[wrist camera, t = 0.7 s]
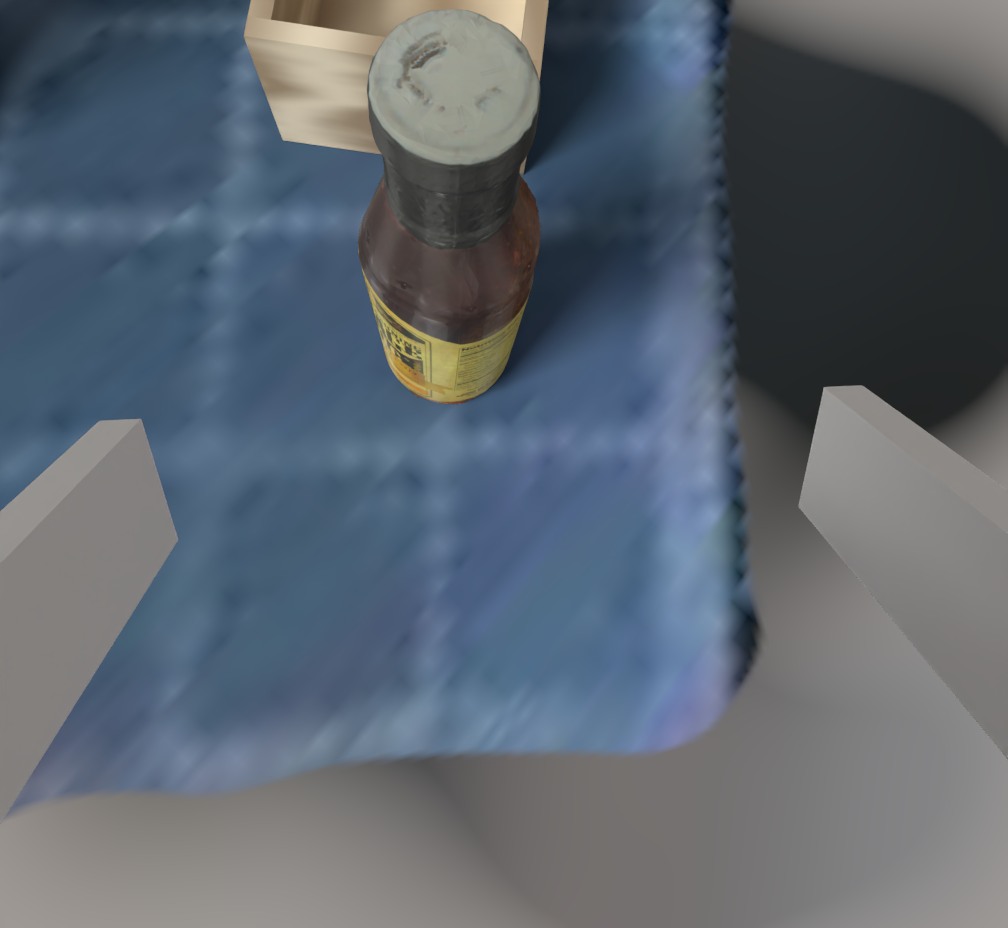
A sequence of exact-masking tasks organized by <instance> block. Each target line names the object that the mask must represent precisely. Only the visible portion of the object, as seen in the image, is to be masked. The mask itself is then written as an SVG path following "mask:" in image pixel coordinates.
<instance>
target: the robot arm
mask: <svg viewBox="0 0 1008 928" xmlns="http://www.w3.org/2000/svg"><path fill="white" fill-rule="evenodd" d="M799 508H800V509H801V510H802V511H803V513H804V514H805V515H806V516H807V517H808V519H809V520H810V521H811V522H812V523H813V525H814V526H815V527H816V528H817V530H818V531H819V532H820V533H821V534H822V535H823V537H824V538H825V539H826V540H827V542H828V543H829V544H830V545H831V546H832V548H833V549H834V550H835V551H836V553H837V554H838V555H839V556H840V557H841V559H842V560H843V561H844V562H845V563H846V565H847V566H848V567H849V568H850V569H851V571H852V572H853V573H854V574H855V575H856V577H857V578H858V579H859V580H860V581H861V583H862V584H863V585H864V586H865V588H866V589H867V590H868V591H869V592H870V594H871V595H872V596H873V597H874V598H875V600H876V601H877V602H878V603H879V605H880V606H881V607H882V608H883V609H884V611H885V612H886V613H887V614H888V615H889V616H890V618H891V619H892V620H893V621H894V623H895V624H896V625H897V626H898V627H899V629H900V630H901V631H902V632H903V633H904V635H905V636H906V637H907V638H908V640H909V641H910V642H911V643H912V644H913V646H914V647H915V648H916V649H917V650H918V652H919V653H920V654H921V655H922V656H923V657H924V659H925V660H926V661H927V662H928V664H929V665H930V666H931V667H932V669H933V670H934V671H935V672H936V673H937V674H938V676H939V677H940V678H941V679H942V680H943V682H944V683H945V684H946V685H947V687H948V688H949V689H950V690H951V691H952V693H953V694H954V695H955V696H956V698H957V699H958V700H959V701H960V702H961V704H962V705H963V706H964V707H965V708H966V710H967V711H968V712H969V713H970V714H971V716H972V717H973V718H974V719H975V720H976V722H977V723H978V724H979V725H980V726H981V728H982V729H983V730H984V731H985V733H986V734H987V735H988V736H989V737H990V739H991V740H992V741H993V742H994V743H995V744H996V746H997V747H998V748H999V749H1000V751H1001V752H1002V753H1003V754H1004V756H1005V757H1006V758H1007V759H1008V490H1007V489H1005V488H1004V487H1003V486H1001V485H1000V484H999V483H997V482H996V481H994V480H993V479H991V478H990V477H989V476H987V475H986V474H985V473H983V472H982V471H980V470H979V469H978V468H976V467H975V466H973V465H972V464H971V463H969V462H968V461H967V460H965V459H964V458H962V457H961V456H960V455H958V454H957V453H955V452H954V451H952V450H951V449H950V448H948V447H947V446H945V445H944V444H943V443H941V442H940V441H939V440H937V439H936V438H935V437H933V436H932V435H930V434H929V433H928V432H926V431H924V430H923V429H922V428H921V427H919V426H918V425H916V424H915V423H914V422H912V421H911V420H909V419H908V418H907V417H905V416H904V415H903V414H901V413H900V412H898V411H897V410H896V409H894V408H893V407H891V406H890V405H889V404H887V403H886V402H884V401H883V400H882V399H880V398H879V397H877V396H876V395H875V394H873V393H872V392H870V391H869V390H868V389H866V388H865V387H864V386H861V385H860V386H839V387H824V390H823V394H822V399H821V404H820V409H819V413H818V417H817V422H816V427H815V432H814V436H813V441H812V445H811V450H810V455H809V459H808V464H807V469H806V473H805V478H804V483H803V487H802V492H801V497H800V501H799ZM177 541H178V538H177V534H176V531H175V528H174V525H173V521H172V518H171V515H170V511H169V508H168V505H167V502H166V498H165V495H164V492H163V489H162V485H161V482H160V479H159V476H158V472H157V469H156V466H155V462H154V459H153V456H152V453H151V449H150V446H149V443H148V440H147V436H146V433H145V430H144V427H143V423H142V420H141V419H128V420H106V421H99V422H98V423H97V424H95V425H94V426H93V427H92V428H91V429H90V430H89V431H88V432H87V433H86V434H85V435H83V436H82V437H81V438H80V439H79V440H78V441H77V442H76V443H75V444H74V445H72V446H71V447H70V448H69V449H68V450H67V451H66V452H65V453H64V454H63V455H62V456H60V457H59V458H58V459H57V460H56V461H55V462H54V463H53V464H52V465H51V466H49V467H48V468H47V469H46V470H45V471H44V472H43V473H42V474H41V475H40V476H39V477H37V478H36V479H35V480H34V481H33V482H32V483H31V484H30V485H29V486H28V487H26V488H25V489H24V490H23V491H22V492H21V493H20V494H19V495H18V496H17V497H16V498H14V499H13V500H12V501H11V502H10V503H9V504H8V505H7V506H6V507H5V508H4V509H2V510H1V511H0V824H1V822H2V820H3V819H4V817H5V816H6V814H7V813H8V811H9V809H10V808H11V806H12V805H13V803H14V801H15V800H16V798H17V797H18V795H19V793H20V792H21V790H22V789H23V787H24V785H25V784H26V782H27V781H28V779H29V777H30V776H31V774H32V773H33V771H34V769H35V768H36V766H37V765H38V763H39V761H40V760H41V758H42V757H43V755H44V753H45V752H46V750H47V749H48V747H49V745H50V744H51V742H52V741H53V739H54V737H55V736H56V734H57V733H58V731H59V729H60V728H61V726H62V725H63V723H64V721H65V720H66V718H67V717H68V715H69V713H70V712H71V710H72V709H73V707H74V705H75V704H76V702H77V701H78V699H79V697H80V696H81V694H82V693H83V691H84V689H85V688H86V686H87V685H88V683H89V681H90V680H91V678H92V677H93V675H94V674H95V672H96V670H97V669H98V667H99V666H100V664H101V662H102V661H103V659H104V658H105V656H106V654H107V653H108V651H109V650H110V648H111V646H112V645H113V643H114V642H115V640H116V638H117V637H118V635H119V634H120V632H121V630H122V629H123V627H124V626H125V624H126V622H127V621H128V619H129V618H130V616H131V614H132V613H133V611H134V610H135V608H136V606H137V605H138V603H139V602H140V600H141V598H142V597H143V595H144V594H145V592H146V590H147V589H148V587H149V586H150V584H151V582H152V581H153V579H154V578H155V576H156V574H157V573H158V571H159V570H160V568H161V566H162V565H163V563H164V562H165V560H166V558H167V557H168V555H169V554H170V552H171V550H172V549H173V547H174V546H175V544H176V543H177Z"/></svg>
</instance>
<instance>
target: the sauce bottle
mask: <svg viewBox="0 0 1008 928" xmlns="http://www.w3.org/2000/svg"><path fill="white" fill-rule="evenodd" d="M367 96H368V109H369V121H370V125H371V129H372V134H373V138H374V141H375V143H376V145H377V147H378V149H379V151H380V152H381V154H382V157H383V162H384V175H383V177H382V179H381V181H380V183H379V185H378V187H377V190H376V192H375V194H374V196H373V198H372V200H371V202H370V205H369V207H368V209H367V211H366V213H365V215H364V217H363V220H362V222H361V226H360V230H359V237H358V252H359V258H360V262H361V266H362V270H363V274H364V278H365V282H366V285H367V289H368V292H369V296H370V300H371V304H372V308H373V312H374V315H375V318H376V322H377V326H378V329H379V332H380V336H381V339H382V343H383V346H384V350H385V354H386V358H387V360H388V363H389V365H390V368H391V369H392V371H393V372H394V374H395V375H396V377H397V378H398V379H399V380H400V381H401V383H403V384H404V385H405V386H406V387H407V388H408V389H409V390H410V391H411V392H412V393H413V394H414V395H416V396H417V397H422V398H425V399H427V400H430V401H434V402H436V403H443V404H462V403H465V402H467V401H469V400H471V399H473V398H475V397H478V395H479V394H482V393H483V392H485V391H486V390H487V389H489V388H490V387H491V386H492V385H493V384H494V383H495V382H496V381H497V379H498V378H499V377H500V375H501V374H502V372H503V370H504V368H505V366H506V364H507V362H508V359H509V355H510V352H511V349H512V346H513V343H514V340H515V337H516V334H517V331H518V328H519V325H520V322H521V318H522V315H523V312H524V309H525V306H526V303H527V300H528V297H529V294H530V291H531V287H532V283H533V277H534V269H535V265H536V262H537V258H538V253H539V245H540V222H539V215H538V209H537V205H536V200H535V197H534V196H533V194H532V193H531V191H530V189H529V188H528V185H527V183H526V182H525V181H524V180H523V178H522V177H521V176H520V167H521V164H522V163H523V162H524V160H525V158H526V156H527V155H528V153H529V151H530V149H531V147H532V145H533V141H534V138H535V135H536V127H537V122H538V116H539V108H540V96H541V92H540V81H539V77H538V74H537V71H536V68H535V66H534V64H533V62H532V59H531V57H530V55H529V52H528V50H527V48H526V47H525V45H524V44H523V43H522V42H521V41H520V40H519V38H518V37H517V36H516V35H515V34H514V33H512V32H511V31H510V30H509V29H508V28H506V27H505V26H504V25H502V24H499V23H496V22H493V21H491V20H490V19H488V18H487V17H485V16H483V15H481V14H478V13H476V12H472V11H469V10H459V9H441V10H430V11H427V12H424V13H421V14H419V15H416V16H414V17H411V18H409V19H407V20H406V21H405V22H402V23H400V24H399V25H398V26H396V27H395V28H394V29H393V30H392V32H391V33H390V34H389V36H388V37H387V38H386V39H385V40H384V41H383V42H382V44H381V46H380V47H379V49H378V51H377V52H376V54H375V56H374V57H373V59H372V62H371V66H370V69H369V74H368V83H367Z"/></svg>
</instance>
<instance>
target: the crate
mask: <svg viewBox="0 0 1008 928" xmlns="http://www.w3.org/2000/svg"><path fill="white" fill-rule="evenodd" d="M548 2H549V0H251V3H250V8H249V12H248V17H247V22H246V27H245V32H244V38H245V41H246V44H247V46H248V49H249V51H250V54H251V57H252V59H253V62H254V65H255V67H256V70H257V73H258V75H259V78H260V81H261V83H262V86H263V89H264V91H265V94H266V97H267V99H268V102H269V105H270V107H271V110H272V113H273V115H274V118H275V121H276V123H277V126H278V129H279V131H280V134H281V137H282V139H283V140H285V141H292V142H299V143H306V144H313V145H320V146H327V147H334V148H341V149H348V150H355V151H362V152H369V153H376V154H381V152H380V151H379V149H378V147H377V145H376V143H375V141H374V138H373V134H372V129H371V125H370V121H369V109H368V96H367V83H368V74H369V69H370V66H371V62H372V59H373V57H374V56H375V54H376V52H377V51H378V49H379V47H380V46H381V44H382V42H383V41H384V40H385V39H386V38H387V37H388V36H389V34H390V33H391V32H392V30H393V29H394V28H395V27H396V26H398V25H399V24H400V23H402V22H405V21H406V20H407V19H409V18H411V17H414V16H416V15H419V14H421V13H424V12H427V11H430V10H441V9H459V10H469V11H472V12H476V13H478V14H481V15H483V16H485V17H487V18H488V19H490V20H491V21H493V22H496V23H499V24H502V25H504V26H505V27H506V28H508V29H509V30H510V31H511V32H512V33H514V34H515V35H516V36H517V37H518V38H519V40H520V41H521V42H522V43H523V44H524V45H525V47H526V48H527V50H528V52H529V55H530V57H531V59H532V62H533V64H534V66H535V68H536V71H537V74H538V77H539V81H540V74H541V65H542V56H543V47H544V38H545V29H546V20H547V11H548ZM526 157H527V156H526ZM525 163H526V158H525V160H524V162H523V163H522V164H521V167H520V174H522V175H524V169H525Z"/></svg>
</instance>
